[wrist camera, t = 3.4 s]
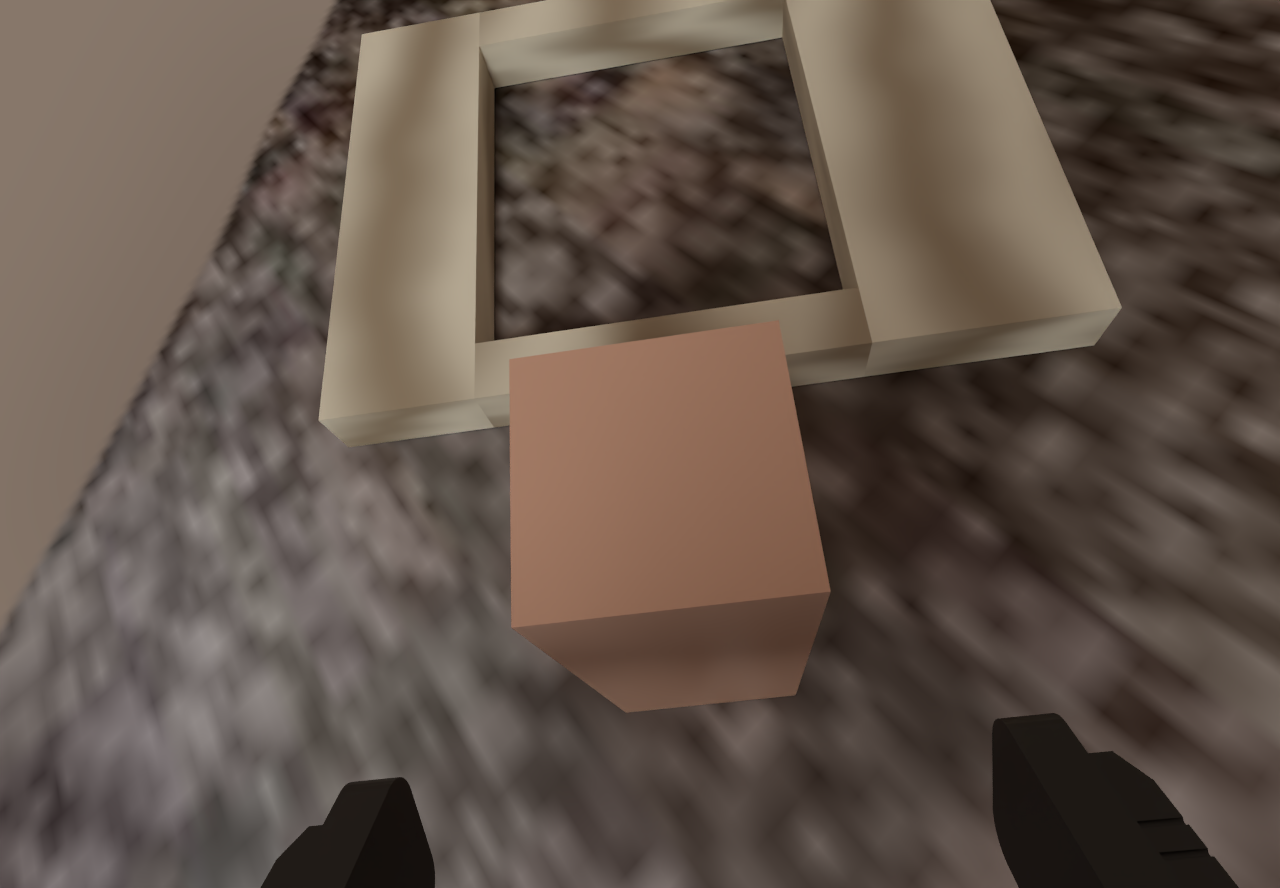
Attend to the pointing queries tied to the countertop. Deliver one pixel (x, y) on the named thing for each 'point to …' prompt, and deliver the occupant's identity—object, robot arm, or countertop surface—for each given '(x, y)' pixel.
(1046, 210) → the beige lopsided picture frame
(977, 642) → the countertop surface
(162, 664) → the countertop surface
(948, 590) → the countertop surface
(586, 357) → the tall salmon pink block
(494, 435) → the countertop surface
